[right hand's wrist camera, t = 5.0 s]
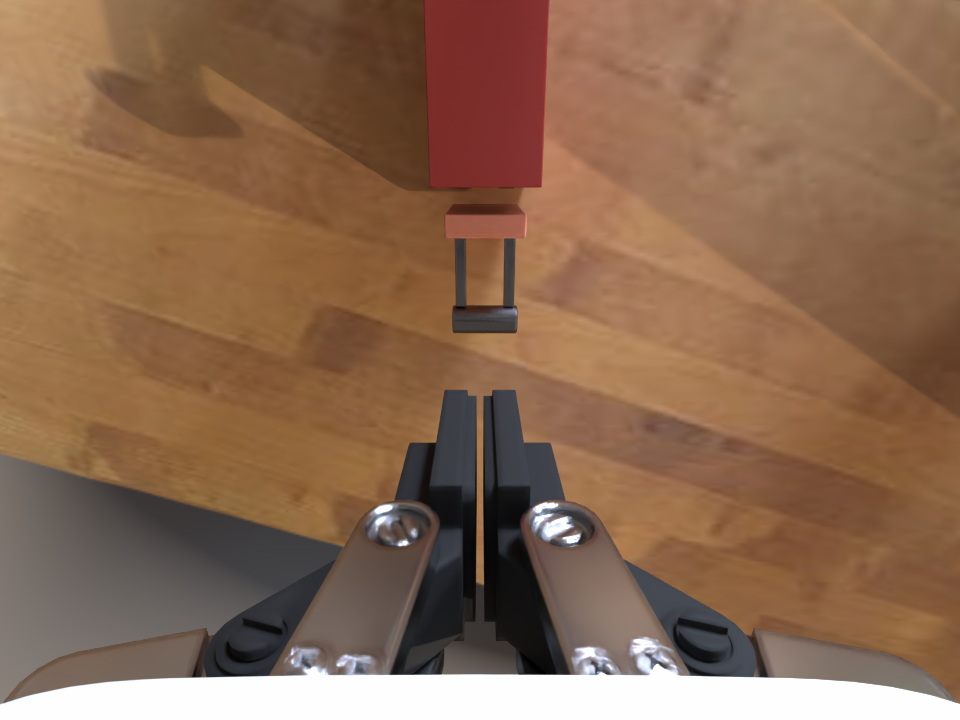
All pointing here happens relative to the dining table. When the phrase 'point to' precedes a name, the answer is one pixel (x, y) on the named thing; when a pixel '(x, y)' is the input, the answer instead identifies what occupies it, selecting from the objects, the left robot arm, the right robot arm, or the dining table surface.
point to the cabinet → (486, 91)
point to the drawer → (509, 226)
